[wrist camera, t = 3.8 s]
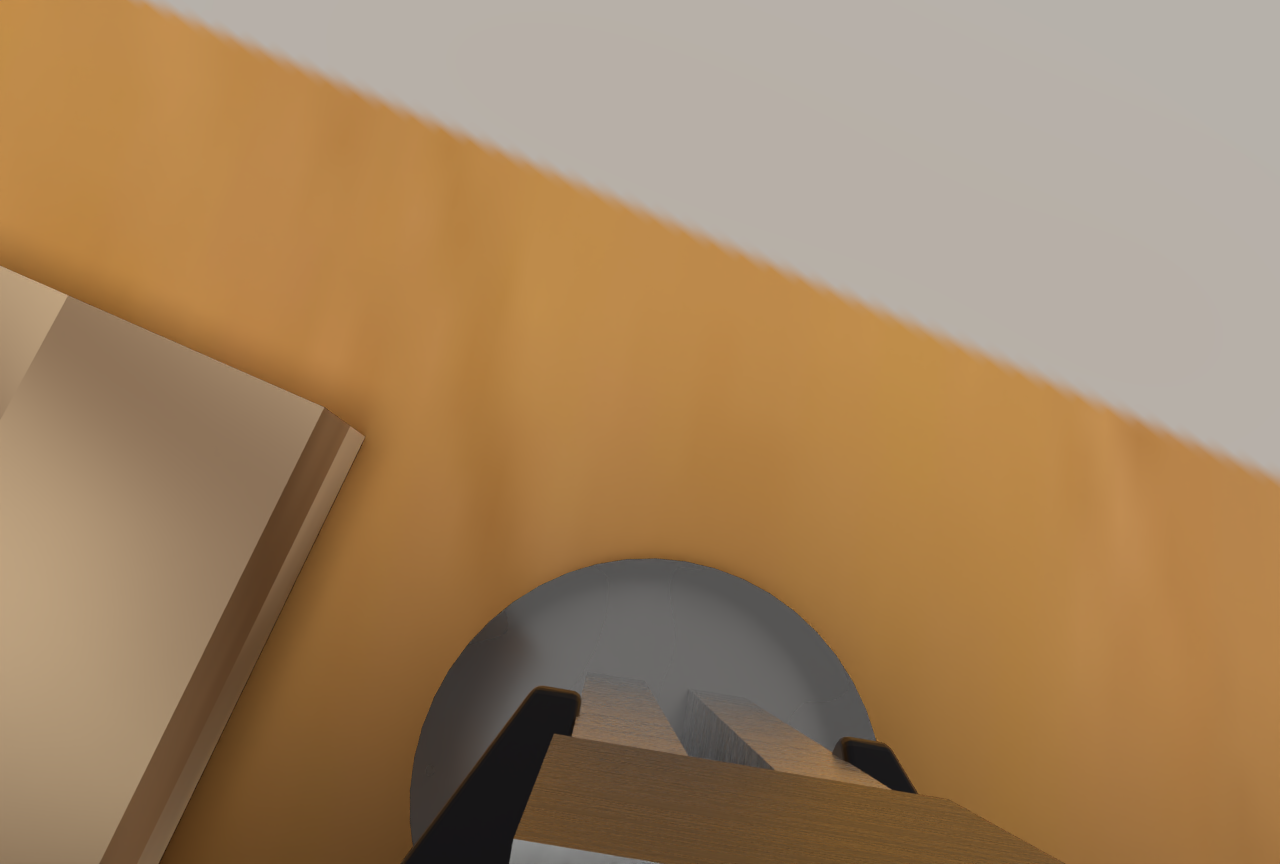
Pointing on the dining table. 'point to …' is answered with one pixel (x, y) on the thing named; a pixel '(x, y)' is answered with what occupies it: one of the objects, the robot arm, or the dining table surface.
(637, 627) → the round base pedestal
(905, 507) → the dining table surface
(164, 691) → the square wooden tray
